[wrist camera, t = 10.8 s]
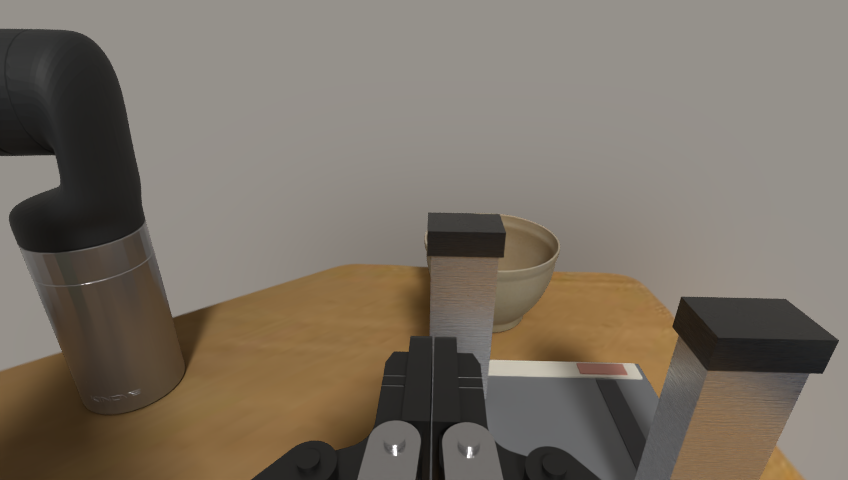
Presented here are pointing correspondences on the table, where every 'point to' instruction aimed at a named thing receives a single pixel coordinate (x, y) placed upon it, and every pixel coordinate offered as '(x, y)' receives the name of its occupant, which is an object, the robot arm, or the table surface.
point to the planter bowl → (521, 269)
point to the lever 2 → (731, 387)
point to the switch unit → (572, 411)
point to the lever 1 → (465, 280)
